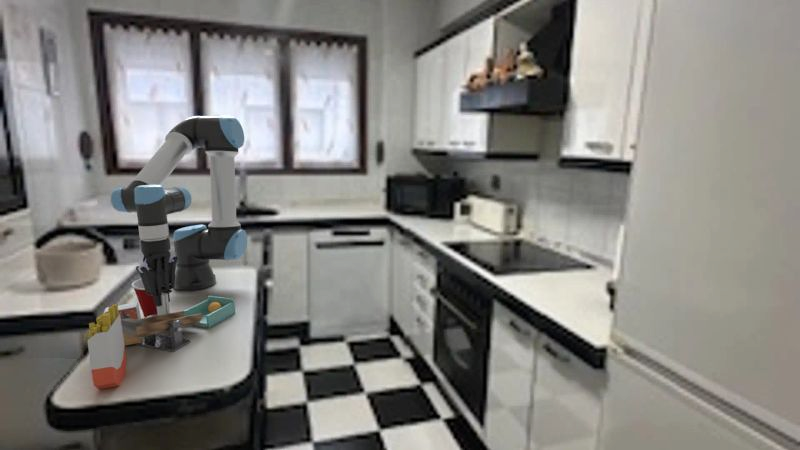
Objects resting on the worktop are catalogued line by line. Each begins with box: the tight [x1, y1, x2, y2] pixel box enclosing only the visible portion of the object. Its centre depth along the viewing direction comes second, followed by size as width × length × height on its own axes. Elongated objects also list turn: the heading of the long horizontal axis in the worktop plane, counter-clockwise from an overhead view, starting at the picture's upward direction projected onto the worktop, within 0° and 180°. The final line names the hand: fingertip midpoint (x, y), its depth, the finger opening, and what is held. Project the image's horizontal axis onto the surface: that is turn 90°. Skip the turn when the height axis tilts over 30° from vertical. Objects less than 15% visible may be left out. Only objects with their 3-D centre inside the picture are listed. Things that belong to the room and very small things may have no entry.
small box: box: [102, 301, 144, 346], centre depth 122 cm, size 8×6×10 cm
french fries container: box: [87, 303, 127, 390], centre depth 102 cm, size 5×11×18 cm, turn 20°
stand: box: [136, 316, 191, 353], centre depth 122 cm, size 6×13×7 cm, turn 72°
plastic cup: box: [131, 278, 157, 318], centre depth 140 cm, size 11×11×12 cm
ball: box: [208, 302, 222, 313], centre depth 141 cm, size 4×4×4 cm
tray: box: [183, 295, 236, 329], centre depth 139 cm, size 12×10×5 cm
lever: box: [121, 310, 202, 339], centre depth 123 cm, size 22×15×4 cm
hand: (163, 314), depth 131 cm, fingers closed
